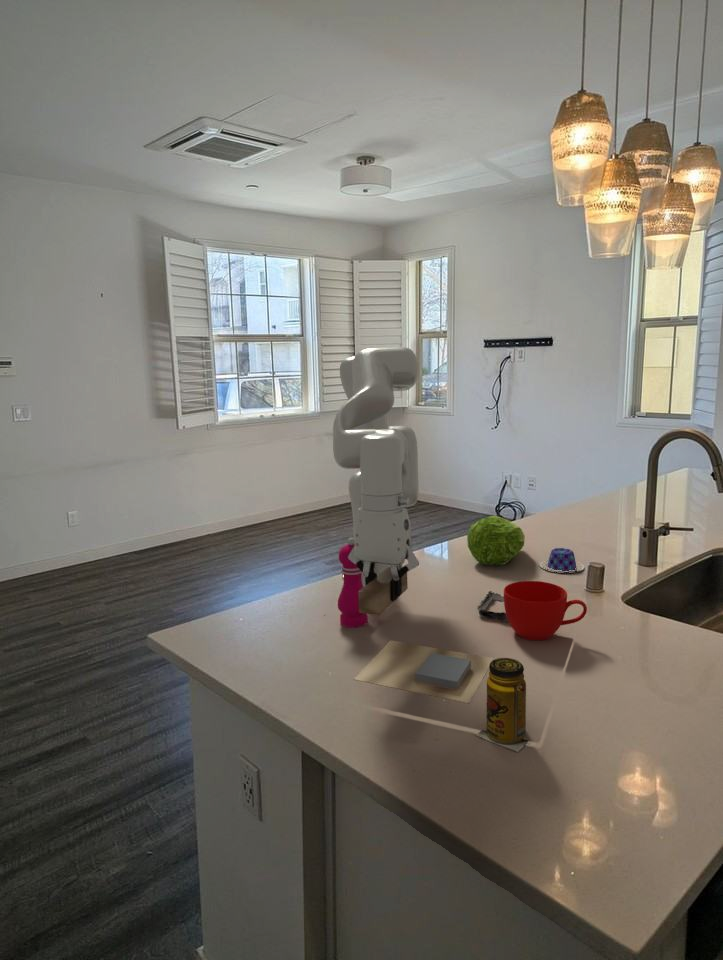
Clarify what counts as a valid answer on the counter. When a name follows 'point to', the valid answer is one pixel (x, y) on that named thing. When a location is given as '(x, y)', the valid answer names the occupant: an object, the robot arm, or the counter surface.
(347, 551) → the pepper mill
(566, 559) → the blue bucket hat
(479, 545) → the lettuce
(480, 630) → the counter surface
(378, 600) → the walnut turner
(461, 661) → the slate tile
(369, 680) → the cork mat
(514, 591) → the ceramic cup
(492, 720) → the condiment
